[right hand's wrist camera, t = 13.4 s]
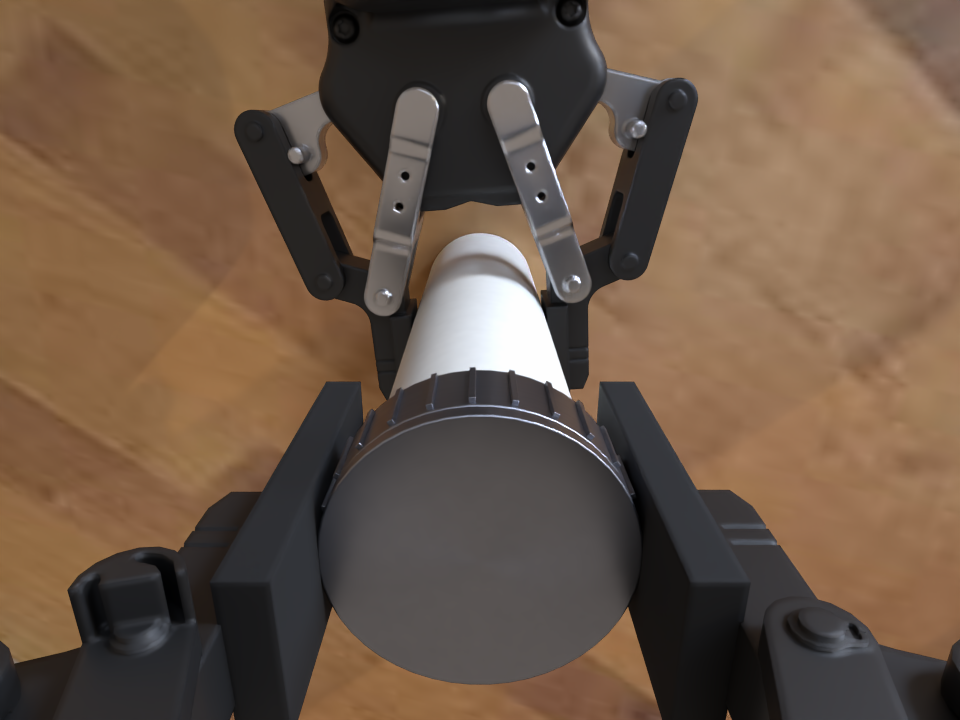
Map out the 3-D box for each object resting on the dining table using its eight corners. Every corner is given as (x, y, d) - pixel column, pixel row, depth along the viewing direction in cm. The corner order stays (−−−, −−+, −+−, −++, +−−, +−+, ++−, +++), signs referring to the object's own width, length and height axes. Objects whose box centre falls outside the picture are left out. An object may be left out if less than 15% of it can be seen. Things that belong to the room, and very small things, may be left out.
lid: (561, 640, 13) (573, 719, 12) (305, 572, 13) (278, 643, 11) (671, 418, 12) (705, 471, 10) (380, 324, 11) (361, 364, 9)
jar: (507, 347, 29) (545, 675, 12) (414, 310, 28) (315, 602, 11) (548, 256, 27) (658, 483, 10) (451, 216, 27) (401, 387, 10)
